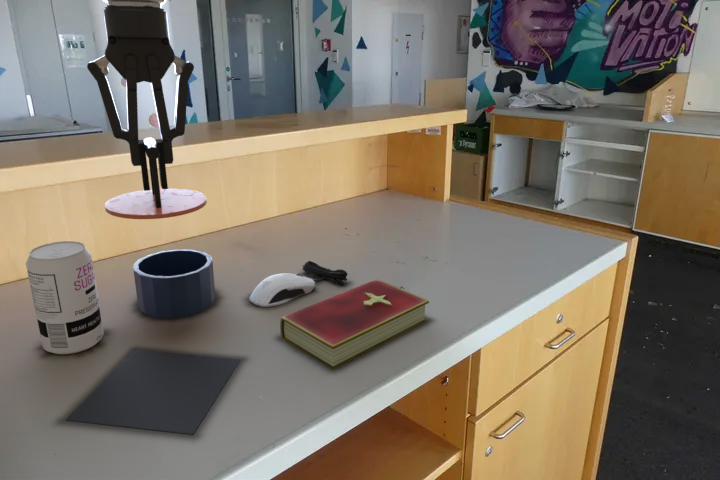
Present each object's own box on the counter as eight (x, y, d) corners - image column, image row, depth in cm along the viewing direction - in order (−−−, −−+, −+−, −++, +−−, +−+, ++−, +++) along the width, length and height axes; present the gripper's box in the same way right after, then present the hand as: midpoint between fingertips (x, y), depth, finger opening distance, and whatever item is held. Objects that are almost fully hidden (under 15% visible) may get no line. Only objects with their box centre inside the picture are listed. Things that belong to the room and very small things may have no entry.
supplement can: (45, 335, 84) (27, 243, 79) (104, 325, 87) (90, 237, 82) (40, 362, 77) (19, 264, 72) (104, 351, 80) (89, 255, 75)
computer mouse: (237, 297, 98) (236, 277, 96) (314, 269, 110) (314, 251, 109) (272, 317, 91) (271, 295, 90) (349, 285, 104) (350, 265, 102)
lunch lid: (105, 228, 70) (94, 154, 67) (106, 200, 82) (96, 136, 79) (214, 217, 75) (208, 148, 72) (200, 192, 87) (195, 132, 84)
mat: (65, 422, 66) (65, 419, 65) (135, 351, 80) (134, 349, 80) (193, 437, 64) (193, 434, 63) (240, 361, 78) (240, 359, 78)
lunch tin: (139, 325, 88) (134, 282, 85) (137, 293, 99) (132, 254, 96) (220, 312, 92) (216, 271, 90) (209, 283, 103) (206, 245, 101)
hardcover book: (280, 339, 85) (279, 314, 83) (375, 298, 99) (375, 276, 97) (332, 371, 77) (333, 345, 75) (427, 322, 91) (429, 299, 89)
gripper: (67, 1, 63) (97, 199, 71) (199, 7, 69) (212, 189, 77) (71, 4, 70) (98, 185, 78) (191, 9, 75) (205, 177, 83)
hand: (155, 187), depth 77 cm, fingers closed on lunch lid, 2 cm apart
